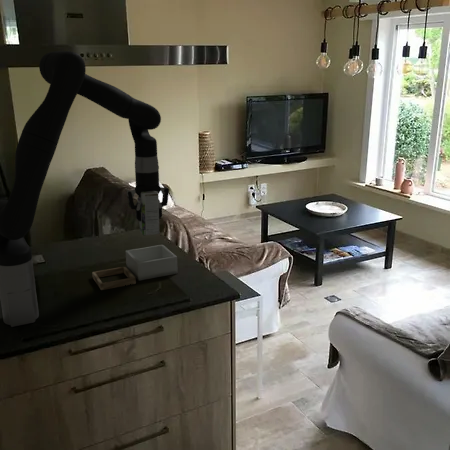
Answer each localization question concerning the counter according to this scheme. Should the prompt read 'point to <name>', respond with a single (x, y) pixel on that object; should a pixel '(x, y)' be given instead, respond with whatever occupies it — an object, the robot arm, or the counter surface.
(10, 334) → the counter surface
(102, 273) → the socket collar
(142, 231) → the syrup box
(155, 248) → the bin
